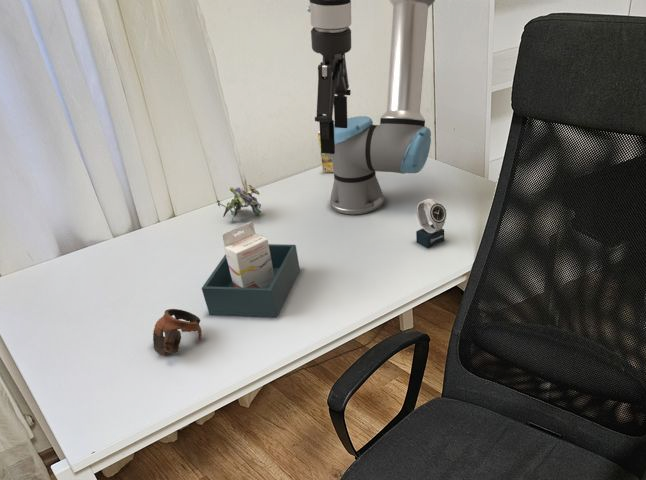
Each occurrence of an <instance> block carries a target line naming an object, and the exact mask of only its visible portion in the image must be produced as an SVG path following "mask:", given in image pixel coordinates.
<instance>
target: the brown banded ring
mask: <svg viewBox="0 0 646 480" xmlns="http://www.w3.org/2000/svg"><path fill="white" fill-rule="evenodd" d="M173 316H174V317H173ZM200 323H201V319H200V317H198V316H197V314H194V313H192V312H189V311H186V310H184V309H178V308H169V309H166V310H165V311H164V313H163V315H162V317H160V318H159V319H158V320H157V321H156V322H155V324H154V328H153V331H152V332H153V333H152V341H153V349H154V351H155V352H156V353H157V354H159V355H161V356H163V357H165V356H167V353H168V354H171V355H173V354H177V353H179V349H180V344H181V340H182V333H187V332H188V333H191V332H197V334H198V337H197V339H198V341H201V340H202V336H203V330H202V328H201V325H200ZM180 330H181V331H180ZM181 332H182V333H181Z"/></svg>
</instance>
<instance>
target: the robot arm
mask: <svg viewBox="0 0 646 480" xmlns="http://www.w3.org/2000/svg"><path fill="white" fill-rule="evenodd" d="M308 1H309V5H307V8H306V11H307V13H310V15H309V16H310V26H311V27H312V28H311V30H310V39H311V40H310V41H311V49H312V51H313V52H314V53H316V54H320V55H321V56H322V61H321V62H320V63H319V64H318V66H317V78H318V79H317V97H316V98H317V99H316V116H314V121H315V122H317V123H318V124H319V130H320V143H321V152H320V154H321V153H326V154H331V156H332V164H333V172H332V173H333V184H332V189H331V194H330V200H329V201H330V207H331V209H332V210H333V211H335V212H336V213H338V214H343V215H349V216H355V215H356V216H359V215H365V214H369V213H372V212H374V211H376V210H378V209H380V208H381V207H382V206H383V205H384V203H385V202H384V201H385V199H384V197H385V196H384V193H383V190H382V188H381V185H380V182H379V179H378V178H377V175H376V172H380V173H381V172H382V173H394V174H395V173H396V174H402V175H404V174H417V173H419V172H421V171H422V170H423V168H424V167H425V165H426V163H427V160H428V157H429V154H430V149H431V144H432V138H431V137H432V132H431V129H430V128H429V127H428V126H426V119H425V118H424V116H423V115H422V114H421V105H422V90H423V78H424V65H425V54H426V42H427V41H426V39H427V28H428V15H429V8H430V7H431V6H432V5H433V4H434V3H435V1H436V0H388V1H389V2H390V4H391V5H392V7H393V8H392V23H391V36H390V37H391V38H390V54H389V68H388V69H389V70H388V86H387V99H386V100H387V102H386V111H385V112H384V113H383V114H382V115H381V116H380V119H379V124H373V123H374V121H373V120H372V118H371V117H370V116H366V115H359V116H352V117H348V96H351V94H352V93H351V89H349V88H350V85H349V78H348V70H347V62H346V54H347V53H348V52H350V51H351V50H352V30H351V28H350V26H351V25H352V0H308Z"/></svg>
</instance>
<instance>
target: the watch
mask: <svg viewBox="0 0 646 480" xmlns="http://www.w3.org/2000/svg"><path fill="white" fill-rule="evenodd" d="M425 204H426V210H427V213H426V210H425ZM416 216H417V219H418V223H419V225H420V227H422V228H420V229H418V230H416V231H415V237H416V239H415V240H416V243H417V244H418V245H421V246H422V247H424V248H426V249H430V248H432V247H434V246H436V245H439V244H441V243H443V242H445V229H443V228H444V226H445V223H446V219H447V209H446V207H445V206H444V205H443V204H442V203H440V202H439V201H437V200H435V199H433V198H427V199H424V200H422V201H421V200H420V202H418V203H417V206H416ZM429 222H430V223H431V224H430V223H429Z"/></svg>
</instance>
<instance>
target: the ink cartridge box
mask: <svg viewBox="0 0 646 480" xmlns="http://www.w3.org/2000/svg"><path fill="white" fill-rule="evenodd" d="M254 225H255V224H254V221H249V222H247V223H244V224H242V225H240V226H237V227H235V228H233V229H231V230H229V231H226V232H224V233H223V234H222V241H223V246H224V253H225V254H226V257H227V262H228V265H229V270H230V274H231V278H232V282H233V286H234V287H241V288H269V287H270V285H271V283H272V281H273V279H274V278H275V276H274V271H273V266H272V260H271V255H270V250H269V245H268V244H269V241H268V238H267V237H264V236H262V235H260V234H258V233H257V232H255V226H254ZM242 231H243V232H242ZM238 232H241V233H240V234H238ZM236 234H237V235H236ZM234 235H235V236H234Z"/></svg>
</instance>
